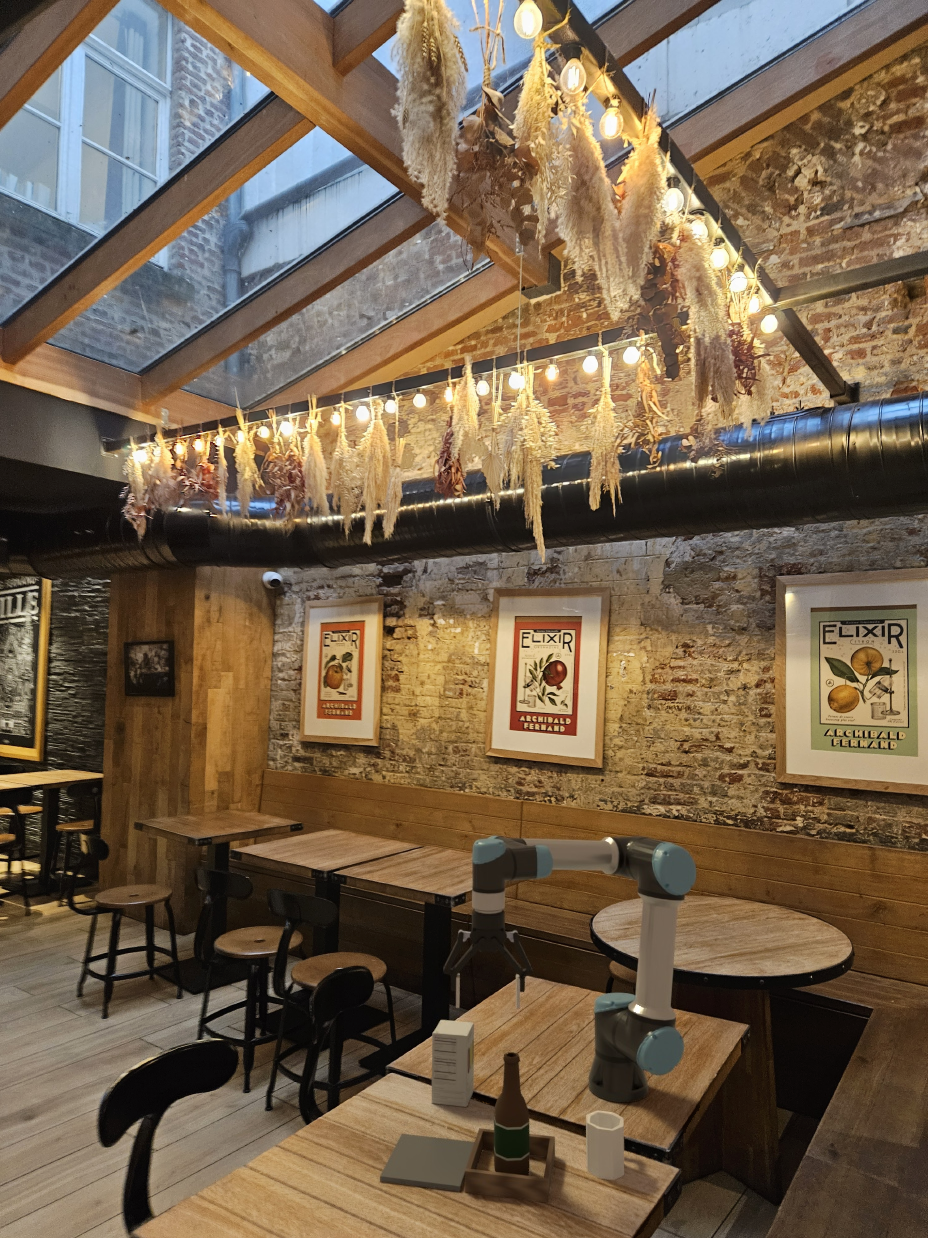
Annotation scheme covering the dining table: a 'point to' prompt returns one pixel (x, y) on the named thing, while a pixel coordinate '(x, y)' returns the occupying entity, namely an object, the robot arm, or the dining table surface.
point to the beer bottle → (511, 1123)
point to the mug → (605, 1145)
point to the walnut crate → (507, 1182)
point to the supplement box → (453, 1063)
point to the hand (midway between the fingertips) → (487, 1006)
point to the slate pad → (428, 1162)
